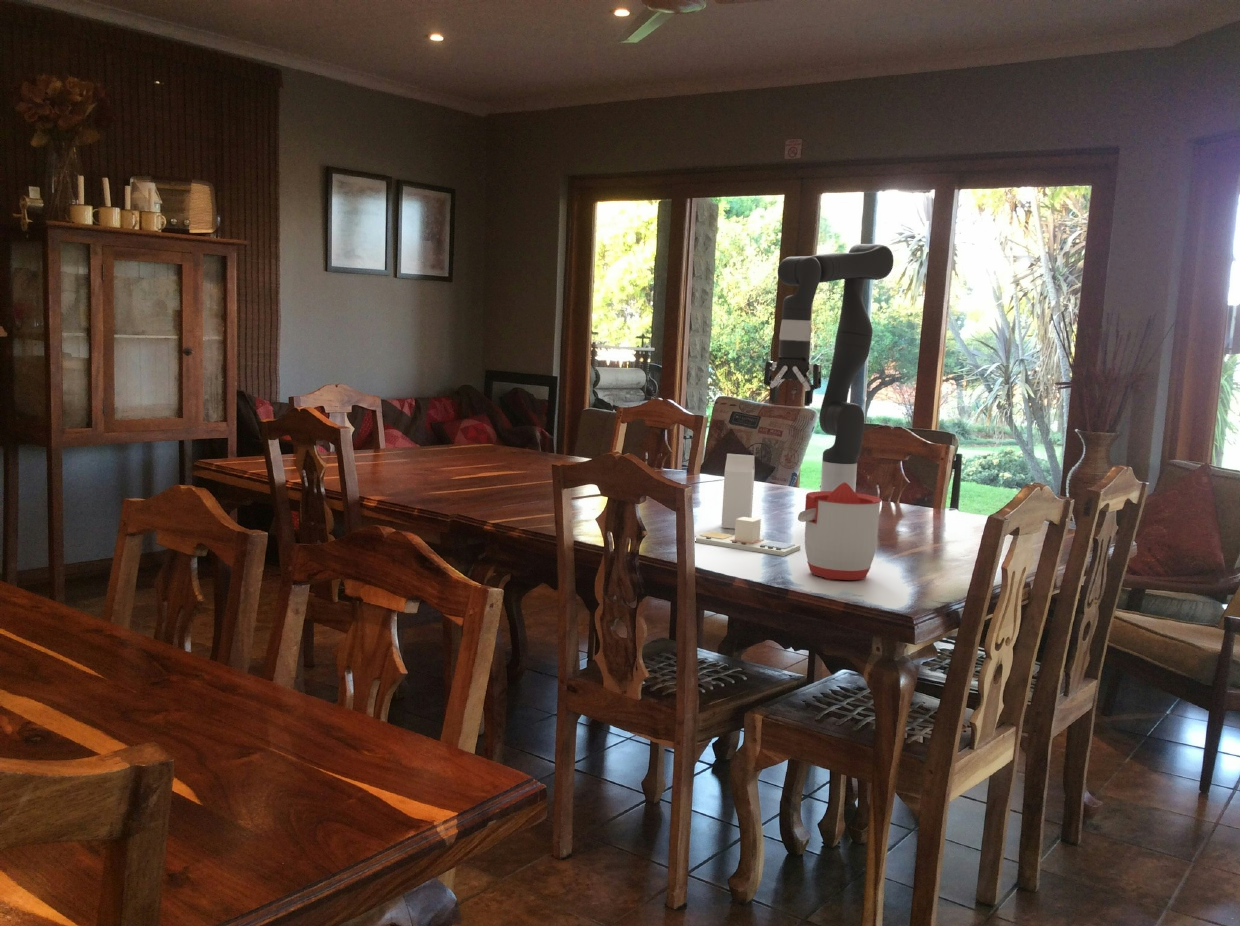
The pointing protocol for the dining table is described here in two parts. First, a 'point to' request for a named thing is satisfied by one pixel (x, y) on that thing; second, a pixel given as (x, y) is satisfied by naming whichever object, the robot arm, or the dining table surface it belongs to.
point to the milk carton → (737, 489)
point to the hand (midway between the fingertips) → (790, 404)
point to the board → (747, 544)
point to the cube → (747, 529)
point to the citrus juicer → (840, 532)
